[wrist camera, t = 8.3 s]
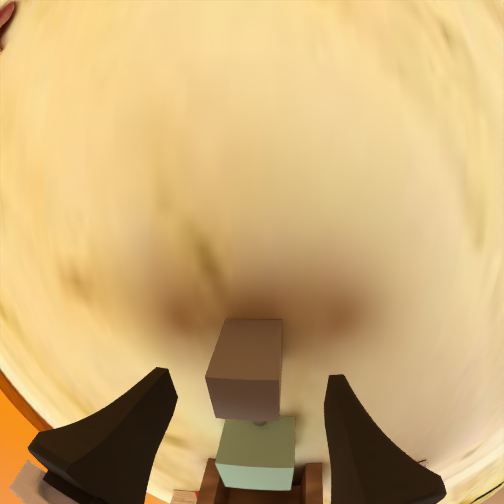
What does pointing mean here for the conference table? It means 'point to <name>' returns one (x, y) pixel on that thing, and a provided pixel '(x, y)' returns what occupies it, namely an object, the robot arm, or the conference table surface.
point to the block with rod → (251, 406)
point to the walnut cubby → (252, 500)
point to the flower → (6, 14)
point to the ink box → (184, 497)
